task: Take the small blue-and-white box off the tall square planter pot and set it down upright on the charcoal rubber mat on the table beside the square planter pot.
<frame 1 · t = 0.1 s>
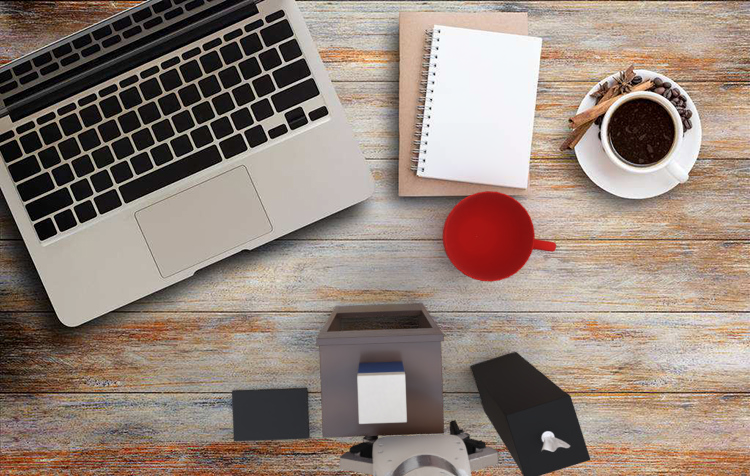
hand: (413, 433, 67), 20 cm above the table, tool pointing down, fingers open, 9 cm apart
square planter pot: (380, 341, 88), on the table
box: (381, 383, 63), point 25 cm above the table, touching square planter pot
mat: (270, 414, 88), on the table
tissue box: (499, 380, 88), on the table
ceramic cup: (488, 238, 88), on the table
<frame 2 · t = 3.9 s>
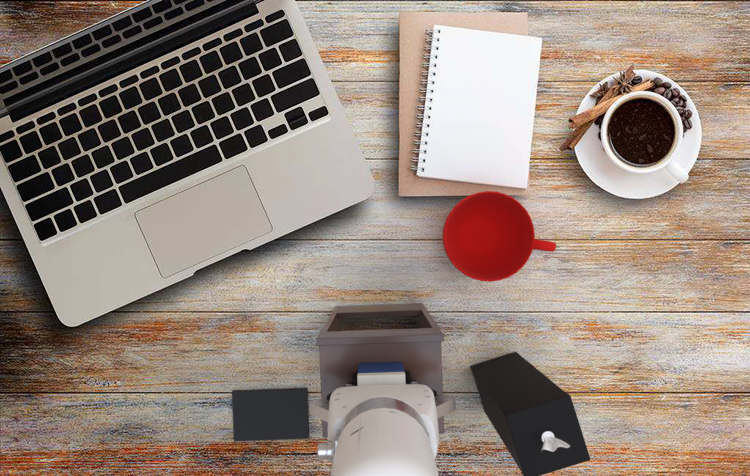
hand: (381, 385, 62), 26 cm above the table, tool pointing down, fingers closed on box, 5 cm apart
box: (381, 383, 63), point 25 cm above the table, touching gripper, square planter pot
everything else where it was.
when the fingers open (1 cm above the table, at t = 12.5 s): box stays where it is, resting on mat.
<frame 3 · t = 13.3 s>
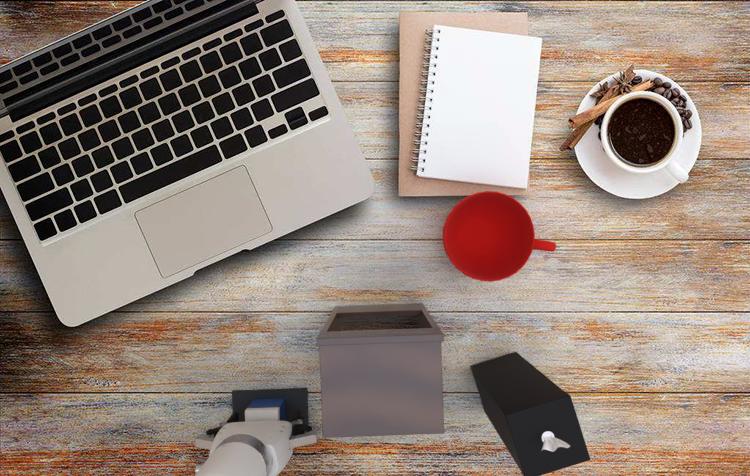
hand: (267, 420, 85), 3 cm above the table, tool pointing down, fingers open, 9 cm apart
box: (269, 413, 87), point 1 cm above the table, touching mat
everything else where it was.
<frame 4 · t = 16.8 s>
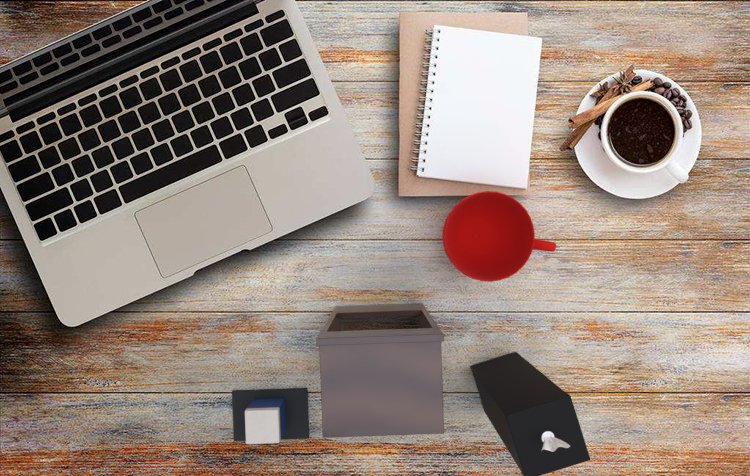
nothing on the table moved.
at the end: box inside the target area on the mat (0.2 cm from its centre), point 0.6 cm above the mat's base; box tilted 0°; box touching mat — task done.
